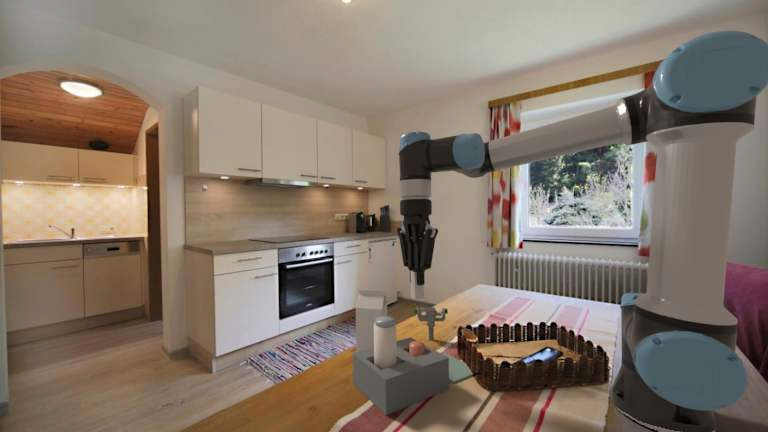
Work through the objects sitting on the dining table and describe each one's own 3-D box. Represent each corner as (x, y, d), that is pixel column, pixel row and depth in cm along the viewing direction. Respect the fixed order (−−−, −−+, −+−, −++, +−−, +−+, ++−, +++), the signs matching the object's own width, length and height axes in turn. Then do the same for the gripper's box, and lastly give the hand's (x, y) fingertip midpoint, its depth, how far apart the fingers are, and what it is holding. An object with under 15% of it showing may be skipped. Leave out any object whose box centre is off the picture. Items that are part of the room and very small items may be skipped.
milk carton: (382, 367, 80) (381, 293, 80) (356, 364, 81) (355, 292, 81) (387, 355, 87) (387, 287, 87) (363, 353, 88) (362, 286, 88)
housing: (449, 388, 69) (448, 357, 69) (385, 415, 60) (385, 379, 60) (410, 363, 81) (410, 337, 81) (353, 383, 72) (352, 353, 72)
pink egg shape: (427, 376, 73) (427, 345, 73) (416, 381, 71) (415, 348, 71) (418, 370, 76) (418, 339, 76) (406, 374, 74) (406, 343, 74)
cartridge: (401, 393, 68) (400, 320, 68) (382, 400, 65) (381, 325, 65) (388, 383, 72) (388, 314, 72) (370, 389, 69) (369, 318, 69)
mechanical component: (448, 341, 95) (448, 309, 95) (415, 341, 96) (414, 309, 96) (446, 337, 98) (446, 306, 98) (414, 337, 98) (414, 306, 99)
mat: (479, 372, 77) (479, 370, 77) (453, 383, 72) (453, 381, 72) (445, 354, 87) (445, 352, 87) (420, 362, 82) (420, 361, 82)
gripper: (446, 197, 70) (448, 301, 70) (411, 200, 81) (412, 290, 81) (420, 196, 66) (422, 307, 66) (387, 200, 77) (389, 294, 77)
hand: (417, 297), depth 73 cm, fingers closed
